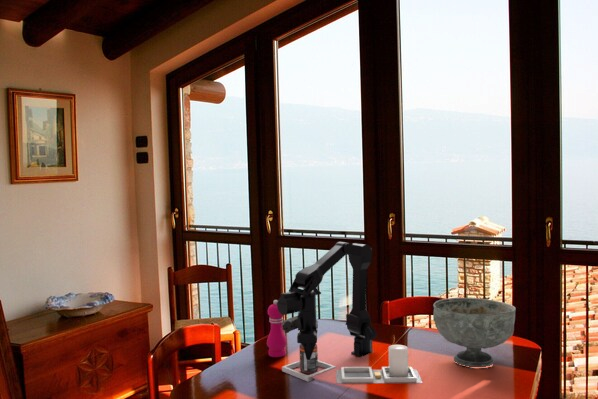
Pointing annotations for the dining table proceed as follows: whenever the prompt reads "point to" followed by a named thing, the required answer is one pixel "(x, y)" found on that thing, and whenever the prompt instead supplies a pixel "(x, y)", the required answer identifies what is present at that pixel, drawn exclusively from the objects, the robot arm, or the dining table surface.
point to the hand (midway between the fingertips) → (308, 356)
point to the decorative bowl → (474, 326)
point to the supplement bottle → (308, 361)
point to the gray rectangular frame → (374, 375)
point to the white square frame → (289, 370)
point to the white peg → (398, 361)
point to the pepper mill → (276, 332)
